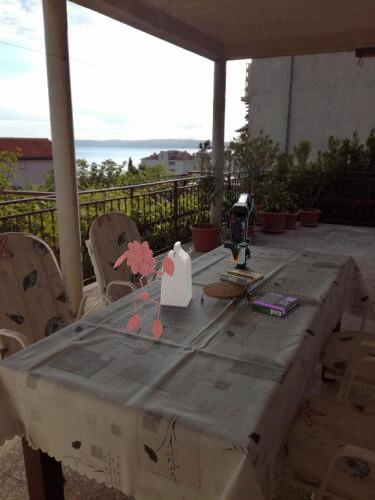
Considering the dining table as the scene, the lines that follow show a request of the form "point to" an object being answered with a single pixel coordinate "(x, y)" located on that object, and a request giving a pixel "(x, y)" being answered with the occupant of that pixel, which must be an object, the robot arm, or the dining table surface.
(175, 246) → the milk
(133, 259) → the figurine
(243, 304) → the dining table surface
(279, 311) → the box
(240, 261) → the carton
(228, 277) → the shelf
